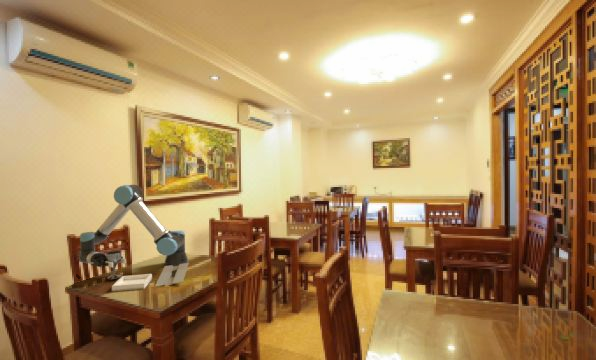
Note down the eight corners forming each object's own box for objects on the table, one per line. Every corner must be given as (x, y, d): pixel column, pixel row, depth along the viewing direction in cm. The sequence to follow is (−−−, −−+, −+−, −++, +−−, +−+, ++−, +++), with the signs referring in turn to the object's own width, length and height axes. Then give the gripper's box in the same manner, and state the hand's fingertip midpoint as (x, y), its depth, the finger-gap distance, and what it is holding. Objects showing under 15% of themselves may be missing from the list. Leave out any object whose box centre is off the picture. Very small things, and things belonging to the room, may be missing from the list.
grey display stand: (189, 289, 171) (193, 266, 182) (183, 281, 166) (188, 258, 177) (161, 293, 172) (167, 270, 183) (154, 286, 166) (161, 263, 177)
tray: (152, 278, 178) (151, 273, 178) (144, 288, 162) (144, 283, 162) (122, 281, 174) (122, 276, 174) (111, 291, 159) (111, 286, 158)
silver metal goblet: (112, 274, 182) (111, 250, 181) (124, 274, 182) (124, 250, 181) (103, 279, 174) (102, 254, 173) (116, 279, 174) (115, 253, 173)
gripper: (112, 260, 195) (135, 264, 184) (79, 269, 177) (101, 274, 166) (112, 248, 194) (134, 252, 184) (78, 256, 177) (101, 261, 166)
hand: (119, 263), depth 175 cm, fingers closed on silver metal goblet, 7 cm apart
